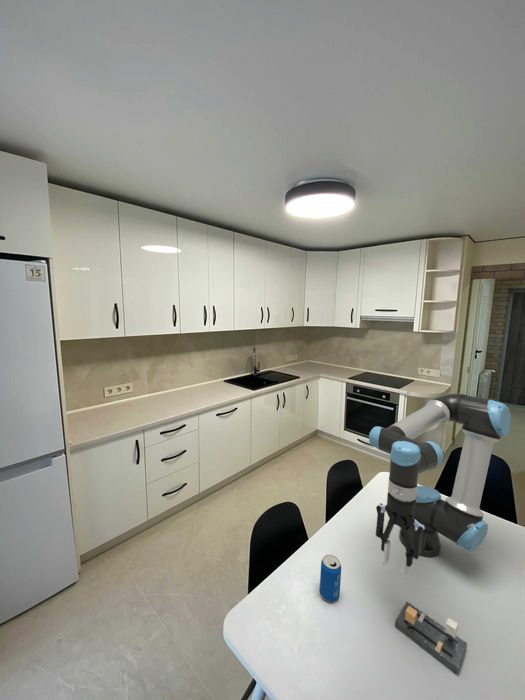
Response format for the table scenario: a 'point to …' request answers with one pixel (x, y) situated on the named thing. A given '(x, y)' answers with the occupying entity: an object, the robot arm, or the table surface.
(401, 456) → the robot arm
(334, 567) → the beverage can
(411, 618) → the fader
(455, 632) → the fader
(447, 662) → the console
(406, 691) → the table surface
